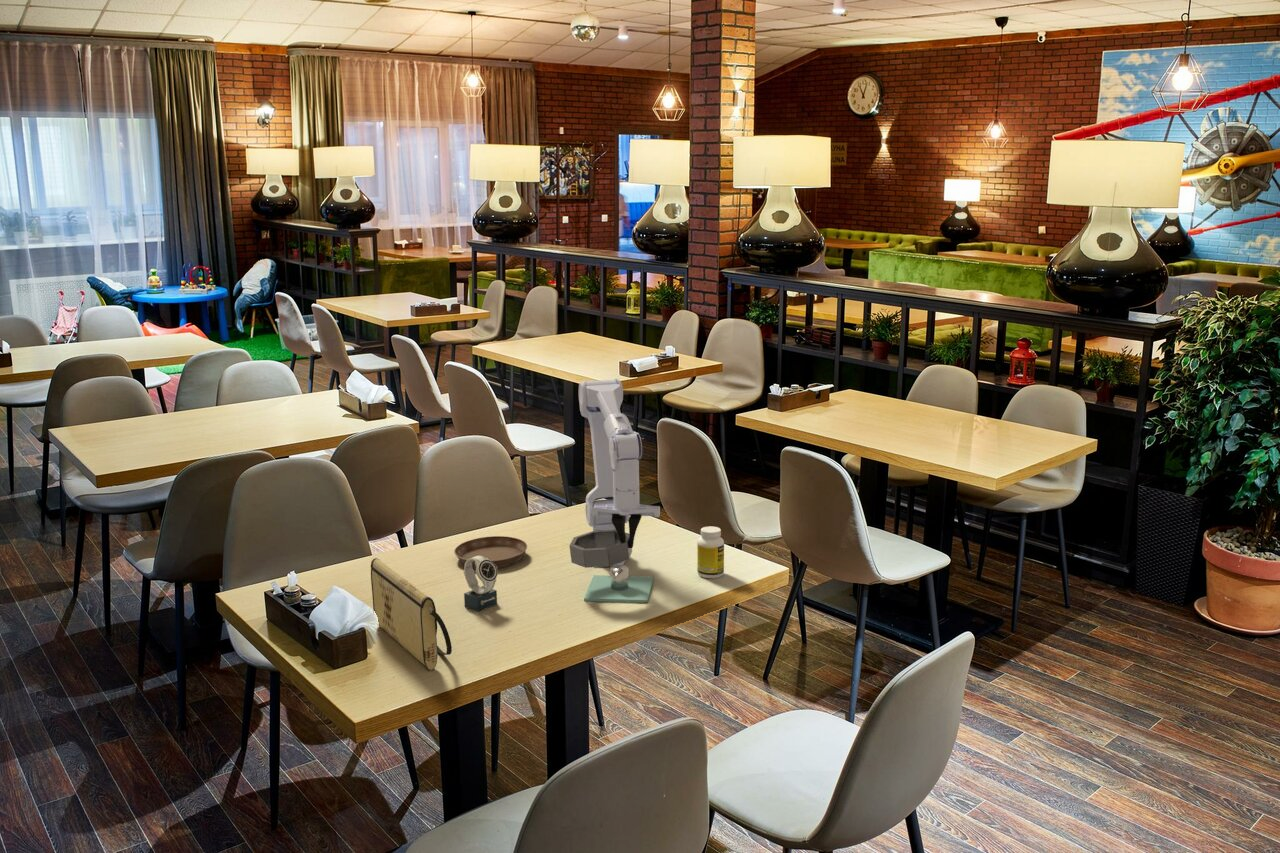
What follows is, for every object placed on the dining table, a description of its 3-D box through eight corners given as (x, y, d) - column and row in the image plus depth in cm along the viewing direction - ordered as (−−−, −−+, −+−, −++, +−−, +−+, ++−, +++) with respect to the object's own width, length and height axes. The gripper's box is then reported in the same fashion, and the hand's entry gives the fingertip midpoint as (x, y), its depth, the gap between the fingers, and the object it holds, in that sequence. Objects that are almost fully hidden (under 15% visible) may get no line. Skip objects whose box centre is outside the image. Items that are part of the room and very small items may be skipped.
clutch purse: (462, 666, 203) (458, 592, 199) (428, 676, 199) (423, 601, 196) (401, 616, 227) (397, 549, 223) (370, 624, 223) (365, 556, 219)
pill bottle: (722, 580, 244) (722, 534, 241) (695, 578, 245) (695, 532, 243) (725, 570, 250) (725, 525, 247) (699, 568, 251) (699, 524, 249)
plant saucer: (471, 577, 248) (470, 565, 248) (444, 555, 263) (443, 544, 263) (539, 563, 257) (539, 551, 256) (510, 543, 272) (509, 531, 271)
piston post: (612, 583, 241) (611, 565, 240) (629, 584, 241) (629, 565, 240) (609, 590, 237) (609, 571, 236) (627, 590, 237) (627, 571, 236)
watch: (484, 613, 227) (481, 565, 224) (459, 604, 232) (456, 557, 230) (503, 605, 231) (501, 558, 229) (478, 597, 236) (476, 550, 234)
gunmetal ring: (578, 548, 245) (576, 531, 244) (634, 545, 243) (632, 528, 242) (568, 568, 232) (566, 551, 231) (626, 565, 230) (625, 548, 229)
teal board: (593, 577, 247) (593, 575, 246) (653, 579, 245) (653, 576, 245) (584, 600, 233) (583, 598, 233) (647, 602, 232) (647, 600, 231)
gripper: (590, 492, 230) (592, 551, 233) (657, 493, 228) (657, 553, 231) (595, 483, 237) (597, 541, 240) (660, 484, 235) (661, 542, 238)
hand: (627, 546), depth 236 cm, fingers closed on gunmetal ring
